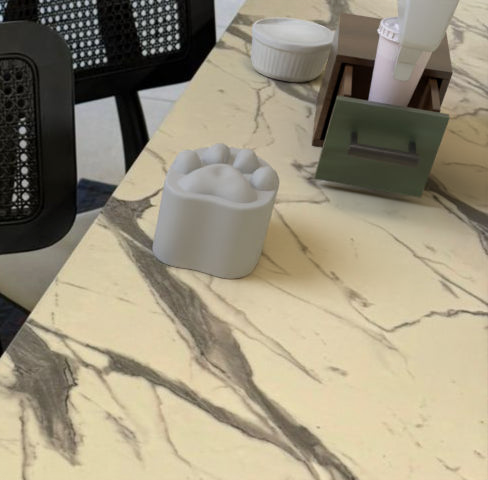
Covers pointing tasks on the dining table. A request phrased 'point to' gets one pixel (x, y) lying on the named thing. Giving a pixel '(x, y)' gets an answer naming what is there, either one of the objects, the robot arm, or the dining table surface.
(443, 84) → the cabinet
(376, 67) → the smoothie
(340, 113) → the drawer
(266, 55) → the ramekin
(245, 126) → the dining table surface
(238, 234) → the lumpy-topped squat cylinder
